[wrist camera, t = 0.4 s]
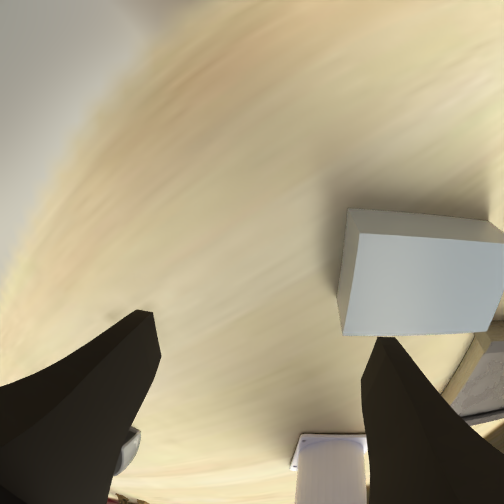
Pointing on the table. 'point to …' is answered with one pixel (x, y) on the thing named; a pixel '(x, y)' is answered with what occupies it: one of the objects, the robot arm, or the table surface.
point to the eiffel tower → (124, 500)
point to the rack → (480, 379)
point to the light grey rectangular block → (418, 274)
